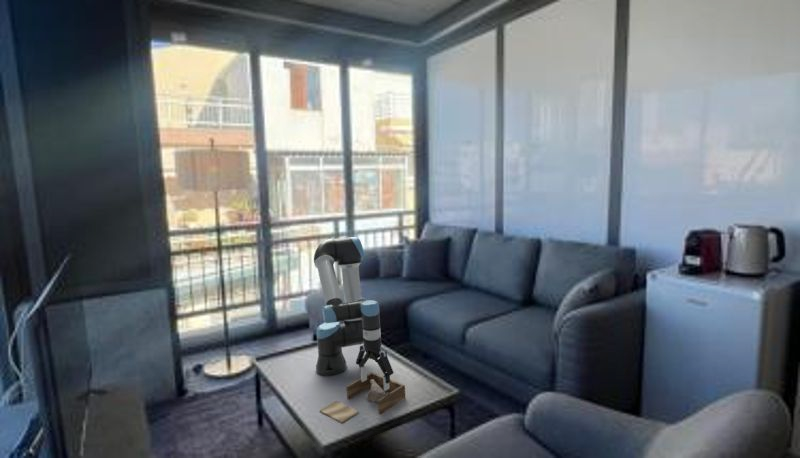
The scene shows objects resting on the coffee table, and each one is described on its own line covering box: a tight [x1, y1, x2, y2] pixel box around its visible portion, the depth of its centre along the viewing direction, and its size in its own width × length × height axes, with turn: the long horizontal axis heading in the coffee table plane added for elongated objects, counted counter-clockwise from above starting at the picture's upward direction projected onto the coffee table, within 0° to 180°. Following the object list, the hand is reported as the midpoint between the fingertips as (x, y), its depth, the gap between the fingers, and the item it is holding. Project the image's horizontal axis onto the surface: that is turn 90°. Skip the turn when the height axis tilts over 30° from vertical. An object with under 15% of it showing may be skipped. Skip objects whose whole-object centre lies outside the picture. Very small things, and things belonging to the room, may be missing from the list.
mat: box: [319, 400, 360, 424], centre depth 181 cm, size 14×9×1 cm, turn 49°
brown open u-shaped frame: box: [346, 371, 406, 415], centre depth 190 cm, size 20×16×6 cm
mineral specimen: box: [365, 379, 386, 404], centre depth 190 cm, size 13×7×6 cm, turn 28°
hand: (375, 385), depth 189 cm, fingers open, 13 cm apart
